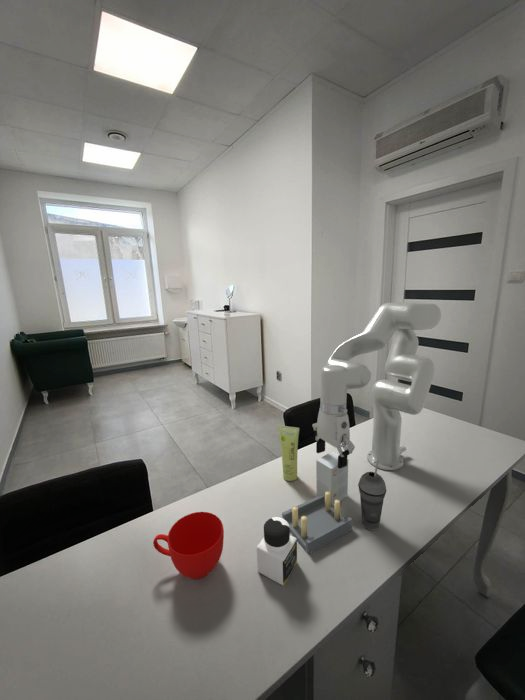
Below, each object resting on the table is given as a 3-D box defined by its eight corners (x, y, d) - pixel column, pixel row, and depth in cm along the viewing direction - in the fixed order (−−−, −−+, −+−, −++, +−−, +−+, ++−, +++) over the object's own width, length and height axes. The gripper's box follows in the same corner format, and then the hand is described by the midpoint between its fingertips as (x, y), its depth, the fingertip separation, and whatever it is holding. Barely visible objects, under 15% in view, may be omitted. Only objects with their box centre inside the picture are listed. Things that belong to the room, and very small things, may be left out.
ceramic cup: (166, 544, 80) (162, 511, 77) (229, 544, 79) (227, 511, 77) (146, 593, 67) (140, 555, 65) (221, 593, 66) (218, 555, 64)
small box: (332, 485, 100) (333, 450, 98) (348, 495, 95) (349, 458, 93) (315, 496, 96) (315, 459, 93) (331, 507, 91) (331, 469, 88)
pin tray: (323, 502, 93) (323, 483, 91) (351, 529, 82) (352, 508, 81) (282, 522, 85) (281, 502, 84) (308, 554, 75) (308, 531, 74)
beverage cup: (364, 509, 89) (367, 449, 85) (388, 523, 84) (392, 458, 80) (351, 523, 84) (354, 459, 80) (377, 538, 79) (380, 471, 75)
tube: (284, 483, 102) (283, 431, 98) (279, 474, 107) (278, 424, 103) (299, 480, 104) (299, 428, 100) (294, 471, 109) (293, 421, 104)
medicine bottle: (283, 587, 67) (282, 542, 65) (257, 572, 71) (255, 528, 68) (297, 562, 73) (297, 520, 71) (272, 549, 77) (271, 509, 74)
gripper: (364, 414, 83) (361, 469, 87) (323, 396, 98) (321, 444, 102) (344, 420, 80) (342, 477, 83) (305, 400, 95) (304, 449, 98)
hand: (331, 459), depth 92 cm, fingers open, 9 cm apart
